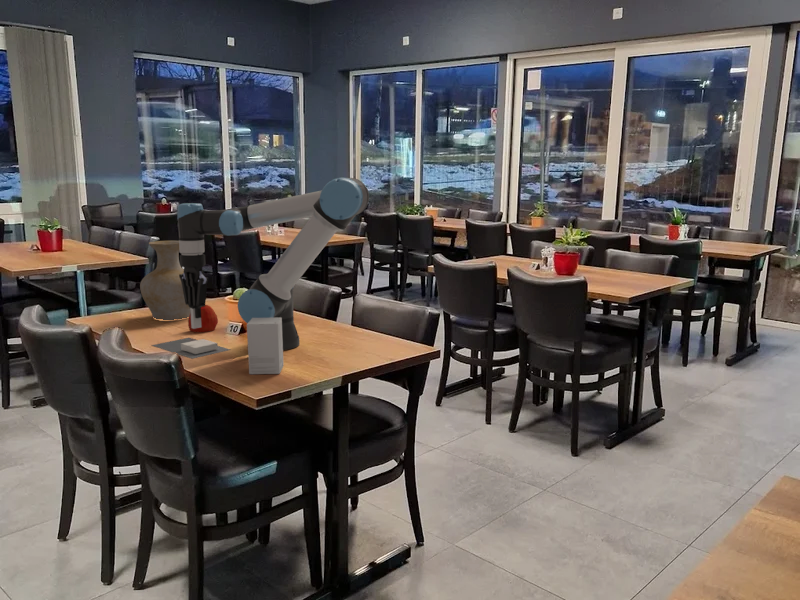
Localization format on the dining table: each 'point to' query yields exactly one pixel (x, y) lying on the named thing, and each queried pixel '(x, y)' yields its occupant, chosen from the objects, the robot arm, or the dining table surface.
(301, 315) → the dining table surface
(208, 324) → the apple
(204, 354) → the slate board
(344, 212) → the robot arm
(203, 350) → the tile
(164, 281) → the vase
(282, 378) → the dining table surface
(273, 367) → the supplement box
